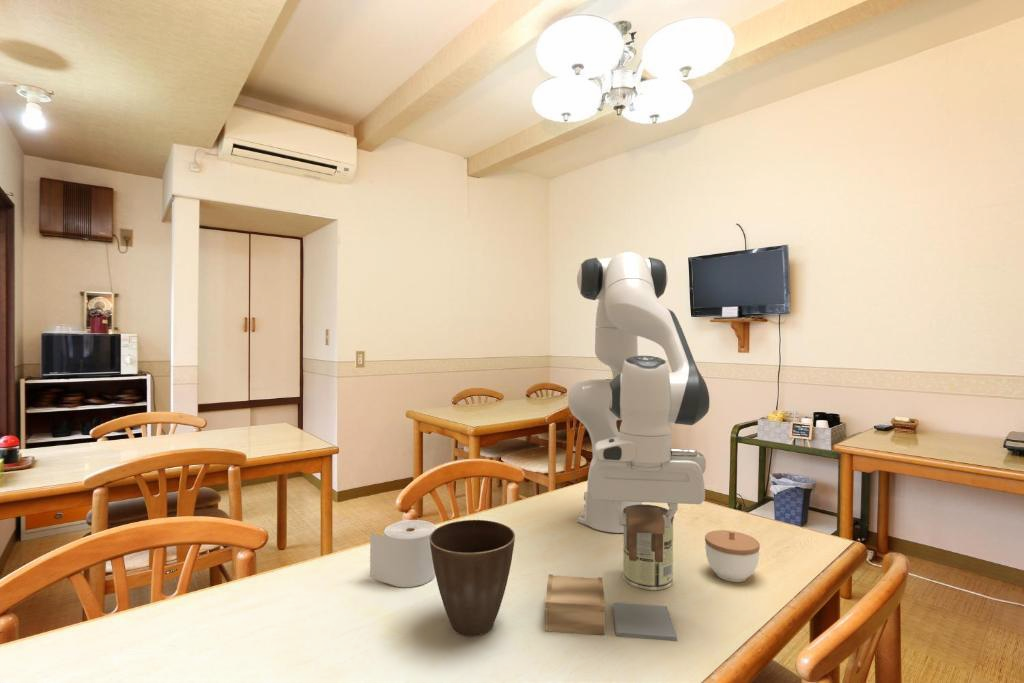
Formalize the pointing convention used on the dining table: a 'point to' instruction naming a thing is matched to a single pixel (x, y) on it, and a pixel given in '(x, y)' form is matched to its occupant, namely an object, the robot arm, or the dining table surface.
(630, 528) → the tan pegged block
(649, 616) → the mat
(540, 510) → the dining table surface
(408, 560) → the toilet tissue
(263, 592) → the dining table surface
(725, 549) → the lidded jar
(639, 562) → the coffee can
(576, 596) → the tan wooden pedestal
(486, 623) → the plant pot
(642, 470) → the robot arm
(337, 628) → the dining table surface
